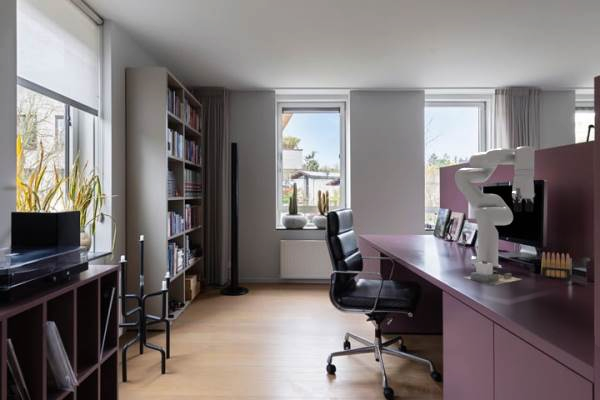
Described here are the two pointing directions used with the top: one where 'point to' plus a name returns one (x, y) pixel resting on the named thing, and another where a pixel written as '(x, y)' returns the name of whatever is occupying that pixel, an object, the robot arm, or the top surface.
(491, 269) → the plug
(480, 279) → the frame
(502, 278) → the board
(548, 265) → the ammunition clip
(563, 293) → the top surface
